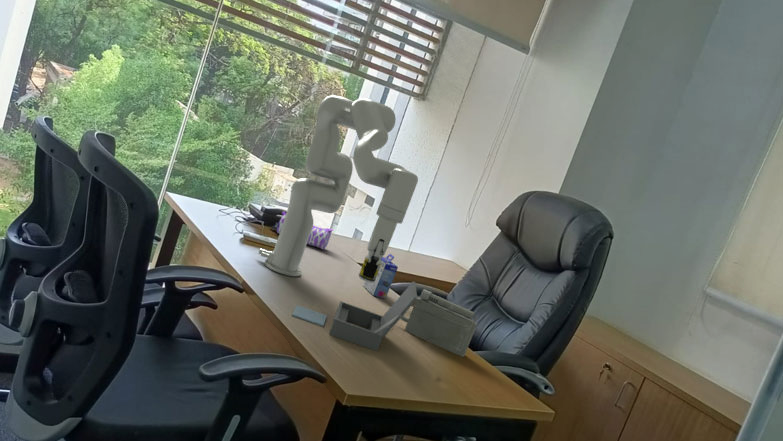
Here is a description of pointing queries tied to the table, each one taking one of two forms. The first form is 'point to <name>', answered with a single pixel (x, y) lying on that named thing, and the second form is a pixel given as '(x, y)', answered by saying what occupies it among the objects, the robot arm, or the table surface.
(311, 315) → the pad
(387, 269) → the ink cartridge box
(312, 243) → the pencil case
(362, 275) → the supplement bottle
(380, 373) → the table surface
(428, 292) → the geiger counter
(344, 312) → the case
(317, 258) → the table surface
